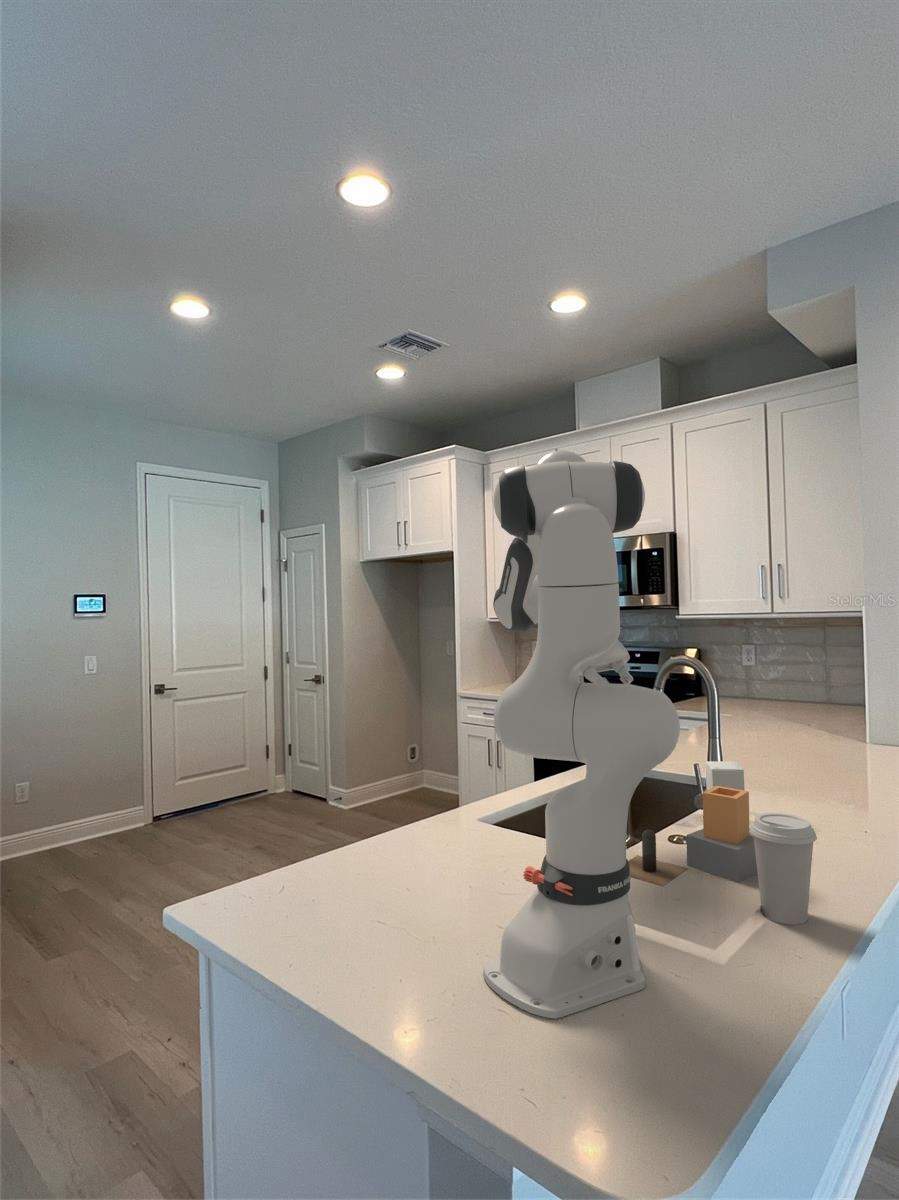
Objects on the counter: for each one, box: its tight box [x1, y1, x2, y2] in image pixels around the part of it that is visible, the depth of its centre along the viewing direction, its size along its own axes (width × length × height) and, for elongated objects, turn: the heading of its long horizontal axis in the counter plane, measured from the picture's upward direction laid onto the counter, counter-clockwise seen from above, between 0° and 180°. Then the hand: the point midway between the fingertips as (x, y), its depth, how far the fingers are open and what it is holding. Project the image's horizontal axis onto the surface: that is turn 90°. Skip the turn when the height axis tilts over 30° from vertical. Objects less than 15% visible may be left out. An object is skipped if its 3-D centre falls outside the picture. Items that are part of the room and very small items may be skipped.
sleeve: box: [702, 786, 750, 844], centre depth 126 cm, size 6×6×8 cm
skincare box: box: [704, 760, 746, 791], centre depth 144 cm, size 8×7×16 cm
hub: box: [686, 828, 758, 883], centre depth 126 cm, size 10×10×13 cm
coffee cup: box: [749, 812, 818, 926], centre depth 110 cm, size 10×10×15 cm
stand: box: [628, 829, 689, 887], centre depth 125 cm, size 10×10×9 cm
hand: (618, 684), depth 138 cm, fingers open, 8 cm apart
